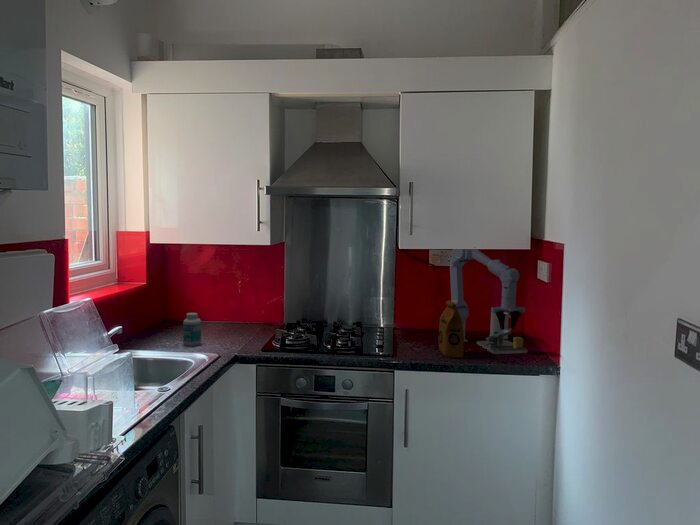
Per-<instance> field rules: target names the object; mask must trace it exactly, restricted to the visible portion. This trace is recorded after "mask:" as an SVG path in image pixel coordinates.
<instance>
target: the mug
mask: <svg viewBox="0 0 700 525" xmlns="http://www.w3.org/2000/svg"><path fill="white" fill-rule="evenodd" d="M504 314H506V316H505V321H504V330H509V331H512V330H513V329H511V327H510V328H509V318H510V319H511V315H510V312H504ZM489 328H490V331H489V336H492V335H494V332H496V331H498V333H499V332H502V331H504V330H502V329H500V324H499V320H498V318H497V316H496V313H493V312H491V311H490V326H489ZM503 340H509V335H506V336H504V337H503Z"/></svg>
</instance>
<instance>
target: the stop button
mask: <svg viewBox="0 0 700 525" xmlns="http://www.w3.org/2000/svg"><path fill="white" fill-rule="evenodd" d="M488 337H489V342H493V343H495V342H497V337H496V336H490V335H489V336H488Z"/></svg>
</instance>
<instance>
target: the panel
mask: <svg viewBox="0 0 700 525" xmlns="http://www.w3.org/2000/svg"><path fill="white" fill-rule="evenodd" d="M497 333H498V331H496V332H494V334H497ZM476 345H478V346H480V347H481V346H482V347H481V348H484V349H485V350H486V349H487V351H488V352H490V353H492V354H493V355H501V354H502V355H505V354H507V355H508V354H528V350H527V348H526V347H523V348H513V341H510V340H509V339H503V334H499V339H497V342H495V343H493V342H489V341H487V340H477V341H476Z"/></svg>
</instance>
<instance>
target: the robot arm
mask: <svg viewBox="0 0 700 525" xmlns="http://www.w3.org/2000/svg"><path fill="white" fill-rule="evenodd" d="M450 253H451V258H450V260H449V276H450V277H449V278H450V297H451V298H450V301H452V302H454V303H455V304H456V307H457V309H458V312H459V315H460V317H461V320H462V326H463V331H464V342H469V340H468V339H466V322H467V319H468V318H469V316H470V311H469V308H468V304H467V302H466V301H465V300H464V283H463V282H464V281H463V266H464V265H465V264H466V263H467V262H469V261H471V260H475V261H477V262H479V263H481V264H483V265H484V266H486V267H487V270H488V271H489V272H490V273H492V274H493V275H495V276H496V277H498V278H499V280H500V282H501V286H502V287H501V305H500V306H496V307H495V306H494V307H491V308H490V310H491V311H490V313H491V312H493V313H496V316H497V318H498V320H499V324H500V329H502V330H504V321H505V316H506V314H504V312H507V313H509V315H510V316H511V318H510V328H511V329H512V330H515V328H516V326H517V322H518V320H519V319H520V317H521V316H522V314H521V313H526V307H525V306H516V304H517V303H516V300H517V299H516V298H517V281H518V280H519V279H520V272H519V271H518V270H517V269H516V268H515V267H514V268H512V267H511V268H510V265H506V264H504V263H502V261H501V260H500V259H491V258H490V257H488V256H487V255H486V254H484V253H482V251H480V250H479V249H478V248H477V249H454V248H453V249H452V250H451V252H450Z"/></svg>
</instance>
